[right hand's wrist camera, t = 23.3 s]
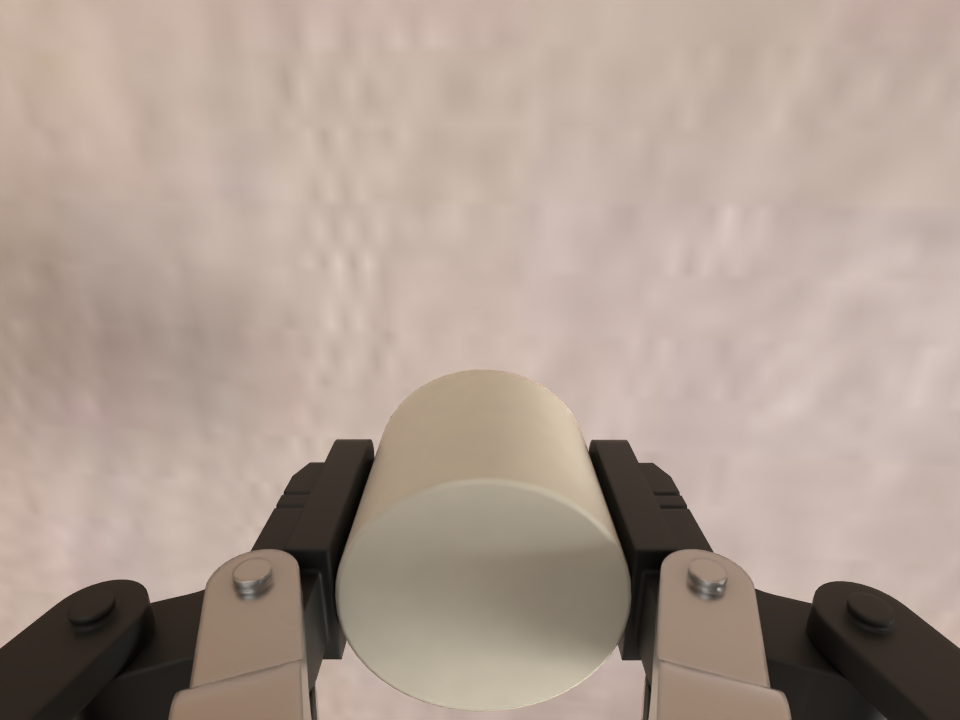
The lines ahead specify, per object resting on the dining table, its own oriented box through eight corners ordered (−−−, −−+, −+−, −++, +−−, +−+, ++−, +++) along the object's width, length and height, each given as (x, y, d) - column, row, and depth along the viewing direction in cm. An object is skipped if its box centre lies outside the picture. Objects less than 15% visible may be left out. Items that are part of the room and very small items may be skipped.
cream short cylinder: (339, 422, 12) (274, 554, 8) (532, 332, 12) (559, 428, 8) (440, 573, 14) (424, 746, 10) (617, 502, 13) (675, 657, 9)
